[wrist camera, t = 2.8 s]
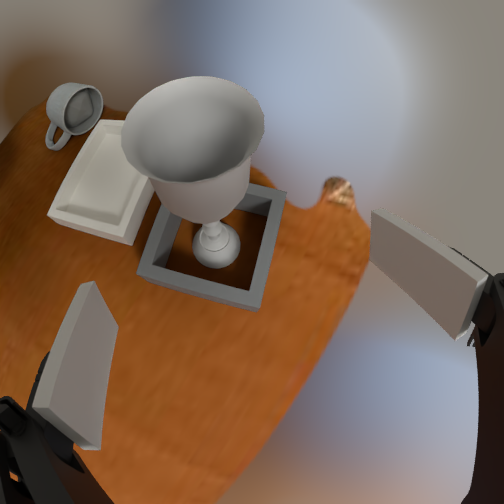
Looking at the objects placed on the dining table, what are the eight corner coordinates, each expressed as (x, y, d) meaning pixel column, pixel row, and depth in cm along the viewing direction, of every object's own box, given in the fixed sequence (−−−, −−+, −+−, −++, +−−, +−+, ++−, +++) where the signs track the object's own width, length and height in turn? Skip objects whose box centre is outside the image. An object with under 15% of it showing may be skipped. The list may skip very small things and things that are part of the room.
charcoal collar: (149, 282, 27) (136, 273, 23) (183, 187, 30) (177, 168, 27) (256, 312, 27) (259, 308, 23) (281, 209, 30) (286, 192, 26)
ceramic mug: (84, 101, 35) (68, 70, 28) (110, 110, 34) (93, 76, 27) (42, 145, 32) (20, 118, 25) (64, 160, 32) (39, 130, 24)
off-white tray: (58, 223, 28) (47, 215, 26) (106, 131, 33) (100, 119, 30) (132, 246, 28) (122, 237, 25) (178, 139, 33) (175, 125, 30)
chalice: (175, 226, 29) (114, 102, 12) (233, 204, 30) (230, 65, 13) (198, 289, 27) (135, 210, 10) (260, 264, 28) (292, 153, 11)
